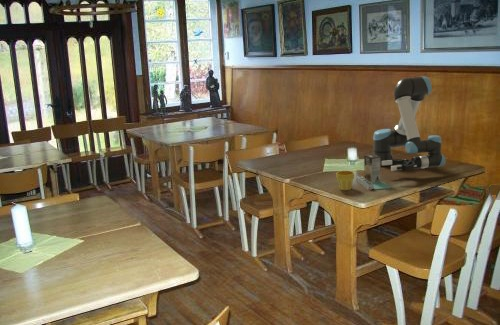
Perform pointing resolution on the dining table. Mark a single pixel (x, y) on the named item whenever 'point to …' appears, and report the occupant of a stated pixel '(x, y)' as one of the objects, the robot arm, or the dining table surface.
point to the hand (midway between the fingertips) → (386, 165)
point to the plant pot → (345, 179)
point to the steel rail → (365, 183)
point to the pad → (381, 186)
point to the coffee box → (372, 168)
